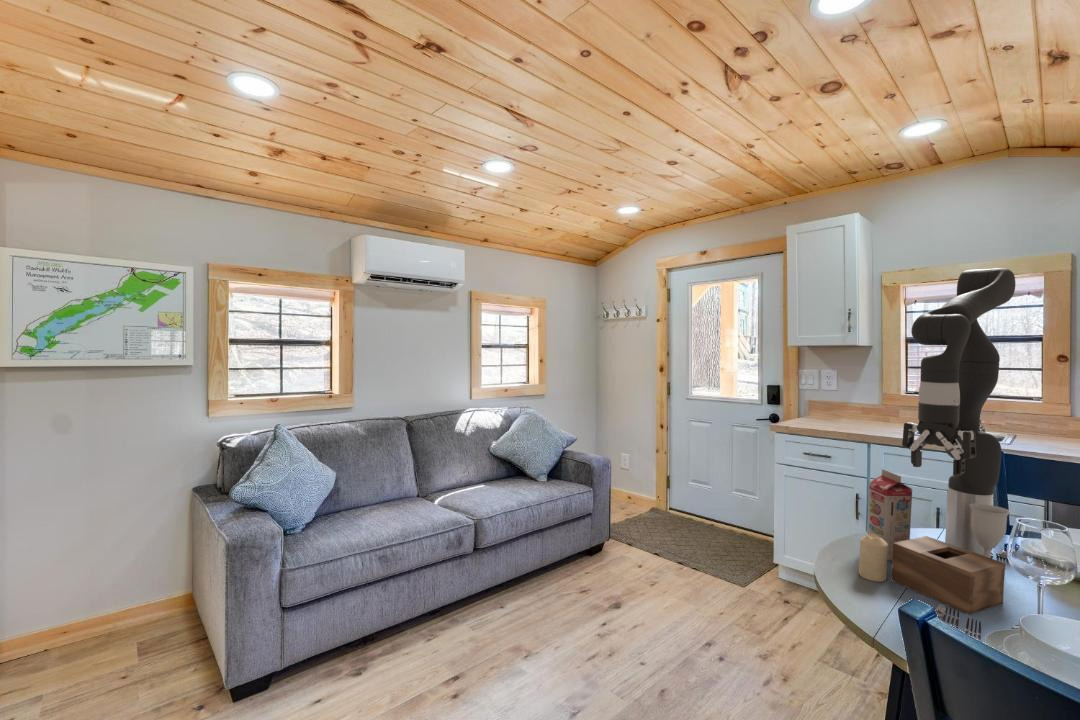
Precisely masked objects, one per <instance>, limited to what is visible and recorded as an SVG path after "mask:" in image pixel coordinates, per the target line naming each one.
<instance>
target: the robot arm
mask: <svg viewBox="0 0 1080 720" xmlns="http://www.w3.org/2000/svg"><path fill="white" fill-rule="evenodd" d="M1015 290H1016V277H1015V274H1014V273H1013V271H1012V270H1010V269H1009V268H1003V267H1002V268H1001V267H999V268H998V267H995V268H981V269H968V270H964V271H962V272H961V273H960V274H959V276H958V279H957V283H956V296H954V297H953V298H950V300H948V301H947V302H946V303H944V304H943V305H942V306H941V307H938V308H935V309H932V310H929V311H928V312H924V313H923V314H921V315H919V316H918V317H917V318H916V319H915V320H914V322H913V323H912V325H911V326H912V327H911V336H912V338H913V340H914V341H915V342H917V343H918V344H920V345H922V346H946V348H945V350H944V351H943V352H942V353H940V354H935V355H928V356H924V357H923V358H922V359H921V361H920V377H919V378H920V381H919V388H918V404H917V405H918V407H917V408H918V411H917V412H918V413H917V415H918V416H917V420H918V423H915V422H914V421H910V422H905V423H903V428H902V429H903V431H902V432H903V433H902V443H901V445H902V447H904V448H907V449H909V450H910V463H911V465H912V467H914V468H920V467H922V464H923V463H922V462H923V461H922V460H923V458H922V457H923V451H922V449H923V448H924V447H925V446H926V445H936V446H937V447H944V449H945V452H946V454H947V455H948V456H949V457H950V458H952V459H953V465H952V475H951V476H950V477H949V479H948V485H947V486H948V487H947V489H948V490H947V504H946V505H947V507H946V521H945V536H944V537H945V538H944V542H945V543H948V544H951V545H954V546H956V547H959V548H962V549H965V550H968V551H971V552H974V553H977V554H979V555H982V554H983V553H984V547H982V546H981V545H979V543H978V541H977V539H976V537H975V535H974V533H973V530H972V527H971V516H972V509H971V508H970V506H969V505H970V504H987V505H993V506H994V491H995V487H996V486H997V484H998V483H999V479H1000V473H1001V463H1002V456H1003V455H1002V447H1001V446H1002V445H1001V443H1000V441H999V440H998V438H996V436H995V435H992V434H991V433H988V432H985V431H981V430H980V421H981V420H980V419H981V414H982V409H983V407H984V405H985V403H986V401H987V400H988V399H989V397H990V396H991V394H992V393H993V391H994V389H995V388H996V387H997V384H998V380H999V374H1000V373H999V371H1000V362H1001V361H1000V357H1001V356H1000V354H999V351H998V350H997V348H996V346H995V345H994V343H993V342H992V341H991V339H990V338H989V337H988V336H987V334H986V333H985V331H984V330H983V329H982V327H981V325H980V323H979V320H978V318H980V317H981V316H982V315H984V314H987V313H989V312H990V311H993V310H994V309H996V308H998V307H1000V306H1002V305H1005V304H1006V303H1007V302H1010V300H1011V299H1012V297H1013V296H1014V294H1015ZM917 431H918V433H919V436H918V437H917V438H916V439H915V436H916V435H915V433H916V432H917ZM991 550H992V548H990V551H989V552H990V553H991Z"/></svg>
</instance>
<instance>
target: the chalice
mask: <svg viewBox="0 0 1080 720" xmlns="http://www.w3.org/2000/svg"><path fill="white" fill-rule="evenodd" d="M969 506H970V508H971V509H972V516H971V527H972V530H973V533H974V535H975V537H976V539H977V541H978V543H979V545H981V546H982V547H984V553H983V554H982V556H985V557H988V558H991V559H992V556H991V552H989V551H990V548H991V549H995V548H996V547H997V546H998V545H999V544H1000V543H1001V542H1002V539H1003V538H1004V537H1005V534H1006V533H1007V525H1008V524H1007V522H1008V516H1009V514H1010V513H1011V510H1010V509H1007V508H1005V507H1001V506H997V505H994V504H993V505H987V504H970V505H969Z"/></svg>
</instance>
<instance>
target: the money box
mask: <svg viewBox="0 0 1080 720" xmlns="http://www.w3.org/2000/svg"><path fill="white" fill-rule="evenodd" d="M1005 571H1006V563H1005V562H1002V561H1000V560H996V559H994V558H992V557H991V558H988V557H985V556H982V555H979V554H977V553H974V552H971V551H968V550H965V549H962V548H959V547H956V546H954V545H951V544H948V543H945V541H941V540H940V539H936V538H933V537H930V536H928V535H924V536H921V537H915V538H910V540H905V541H900V542H895V543H893V558H892V562H891V579H890V580H891V581H892V580H893V581H892V582H894V581H895V583H897V584H899V585H901V586H903V587H906V588H907V589H911V590H913V591H915V592H917V593H919V594H921V595H923V596H925V597H928V598H930V599H933V600H934V601H937V602H939V603H942V604H944V605H945V606H948V607H951V608H953V609H955V610H958V611H960V612H962V613H963V614H966V615H971V614H975V613H978V612H981V611H985V610H987V609H991V608H994V607H998V606H1001V605H1003V604H1004V590H1005V577H1006V576H1005V574H1006V572H1005Z"/></svg>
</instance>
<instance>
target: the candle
mask: <svg viewBox="0 0 1080 720" xmlns="http://www.w3.org/2000/svg"><path fill="white" fill-rule="evenodd" d="M859 540H860V541H859V543H860V544H859V559H858V560H859V561H858V564H859V565H858V575H860V577H861V578H863V579H866V580H868V581H872V582H877V583H878V582H885V581H886V579H887V569H888V568H887V566H888V561H887V551H888V544H887V543H886V542H885V541H884V540H883V539H882V538H881V537H879V536H877V535H876V534H867V533H866V535H864V536H862V537H861V538H860V539H859Z"/></svg>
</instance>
